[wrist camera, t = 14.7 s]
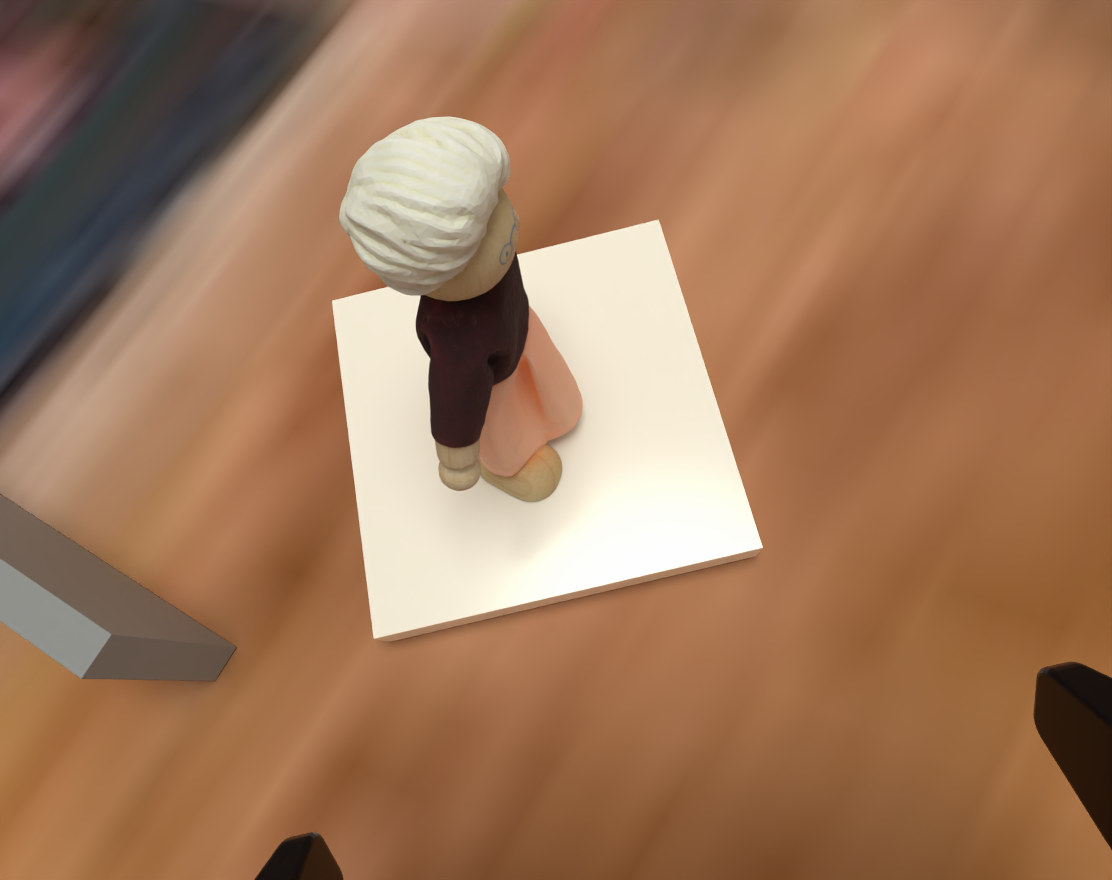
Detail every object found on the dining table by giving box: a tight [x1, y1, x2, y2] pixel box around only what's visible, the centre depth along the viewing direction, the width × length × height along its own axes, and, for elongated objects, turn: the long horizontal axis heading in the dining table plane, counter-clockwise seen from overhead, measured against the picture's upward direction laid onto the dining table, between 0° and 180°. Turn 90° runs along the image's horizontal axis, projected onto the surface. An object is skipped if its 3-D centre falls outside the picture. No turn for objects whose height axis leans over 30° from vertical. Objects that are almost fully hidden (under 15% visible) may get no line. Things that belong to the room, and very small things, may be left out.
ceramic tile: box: [332, 220, 763, 642], centre depth 24 cm, size 12×12×2 cm
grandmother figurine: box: [339, 117, 583, 502], centre depth 18 cm, size 8×4×13 cm, turn 4°
